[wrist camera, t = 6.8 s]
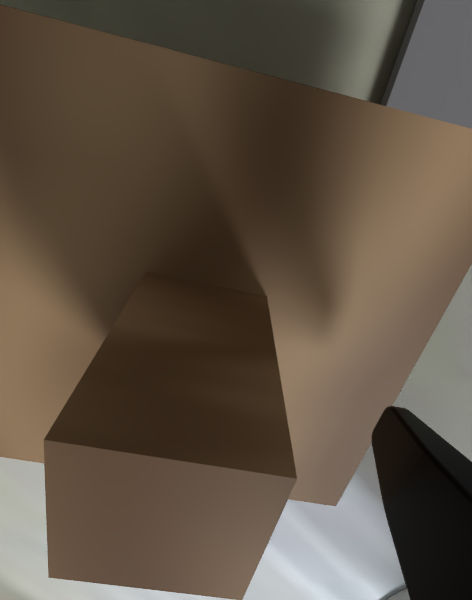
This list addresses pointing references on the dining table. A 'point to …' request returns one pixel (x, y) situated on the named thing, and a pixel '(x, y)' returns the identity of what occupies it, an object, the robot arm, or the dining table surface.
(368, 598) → the dining table surface
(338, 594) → the dining table surface
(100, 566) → the lid
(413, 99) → the mat
